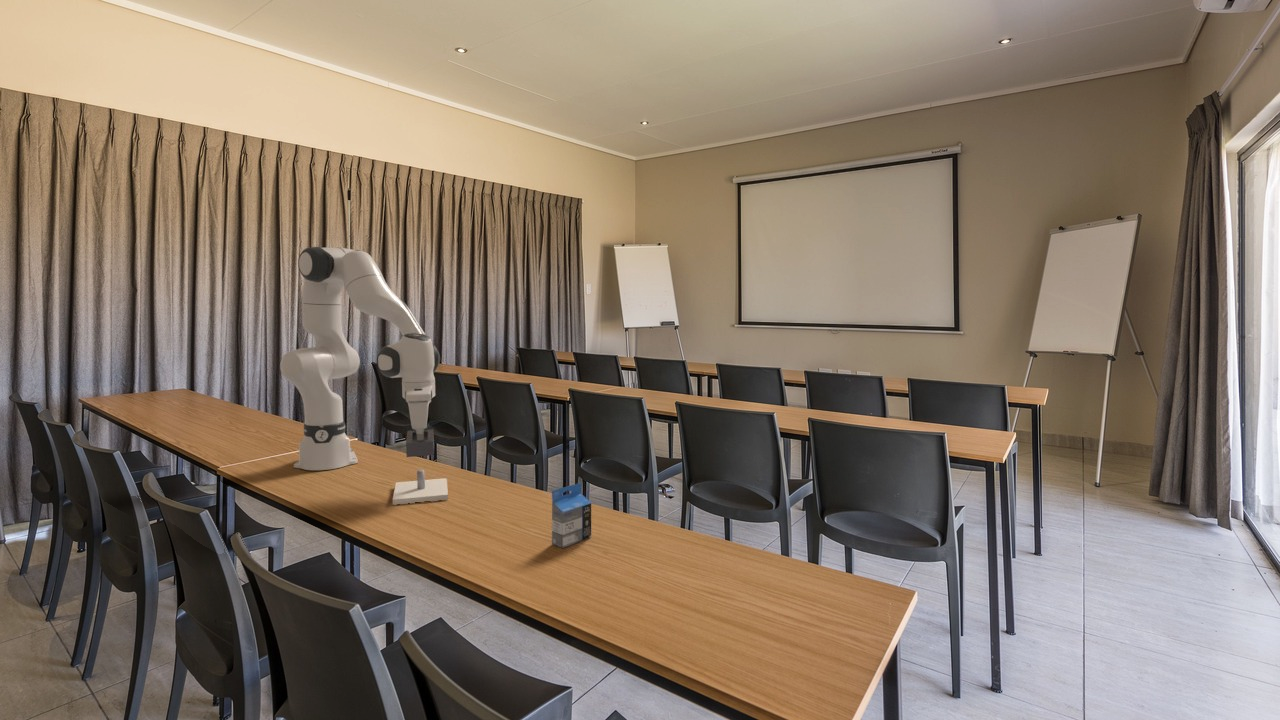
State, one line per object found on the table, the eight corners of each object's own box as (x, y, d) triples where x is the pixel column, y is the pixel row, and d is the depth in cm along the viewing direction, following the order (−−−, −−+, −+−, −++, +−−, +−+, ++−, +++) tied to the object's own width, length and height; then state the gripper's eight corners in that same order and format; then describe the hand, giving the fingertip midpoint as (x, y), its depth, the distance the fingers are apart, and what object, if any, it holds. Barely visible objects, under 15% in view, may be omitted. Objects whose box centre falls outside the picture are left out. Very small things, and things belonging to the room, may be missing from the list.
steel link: (407, 444, 173) (407, 430, 172) (433, 442, 175) (433, 429, 174) (406, 457, 163) (406, 443, 163) (433, 455, 166) (433, 441, 165)
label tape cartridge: (562, 549, 133) (562, 494, 132) (551, 544, 135) (550, 491, 134) (592, 537, 139) (591, 485, 138) (580, 533, 142) (580, 482, 141)
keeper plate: (396, 487, 175) (395, 465, 175) (446, 483, 180) (446, 461, 179) (392, 505, 160) (392, 481, 160) (448, 499, 165) (447, 476, 164)
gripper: (408, 386, 180) (409, 432, 181) (405, 396, 161) (407, 447, 162) (430, 385, 182) (432, 430, 183) (430, 395, 163) (432, 445, 164)
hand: (420, 438), depth 173 cm, fingers closed on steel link, 2 cm apart
